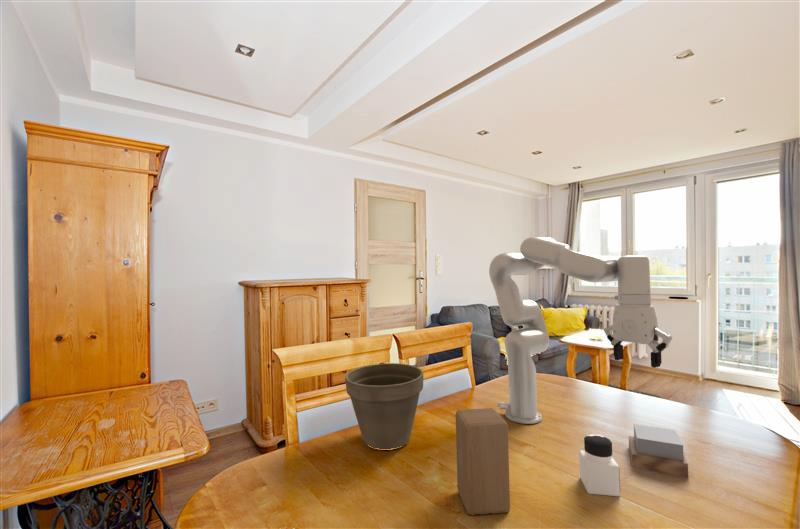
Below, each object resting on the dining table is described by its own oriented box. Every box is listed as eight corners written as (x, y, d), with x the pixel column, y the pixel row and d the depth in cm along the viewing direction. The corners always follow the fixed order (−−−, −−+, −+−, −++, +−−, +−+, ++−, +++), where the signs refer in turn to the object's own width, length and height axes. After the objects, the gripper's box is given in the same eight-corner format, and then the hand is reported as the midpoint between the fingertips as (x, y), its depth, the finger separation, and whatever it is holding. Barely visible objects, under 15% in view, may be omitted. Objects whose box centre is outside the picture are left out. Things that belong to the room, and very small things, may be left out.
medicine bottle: (620, 497, 86) (619, 445, 86) (587, 494, 88) (586, 443, 88) (610, 480, 93) (608, 432, 93) (579, 477, 95) (578, 430, 95)
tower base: (632, 469, 99) (632, 454, 99) (629, 449, 110) (628, 435, 110) (688, 479, 93) (687, 464, 94) (678, 458, 104) (678, 443, 104)
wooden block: (456, 490, 90) (454, 408, 91) (496, 487, 91) (494, 406, 92) (467, 517, 80) (465, 425, 81) (511, 514, 81) (509, 422, 82)
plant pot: (358, 468, 102) (356, 389, 102) (339, 432, 125) (337, 368, 125) (438, 450, 111) (436, 377, 111) (407, 419, 134) (405, 359, 134)
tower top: (637, 452, 100) (637, 438, 100) (634, 437, 109) (633, 424, 109) (683, 460, 95) (683, 445, 95) (675, 444, 104) (675, 430, 104)
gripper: (596, 299, 107) (598, 358, 107) (661, 303, 92) (664, 372, 91) (611, 297, 111) (613, 355, 110) (677, 301, 95) (679, 367, 95)
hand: (636, 362), depth 101 cm, fingers open, 9 cm apart
